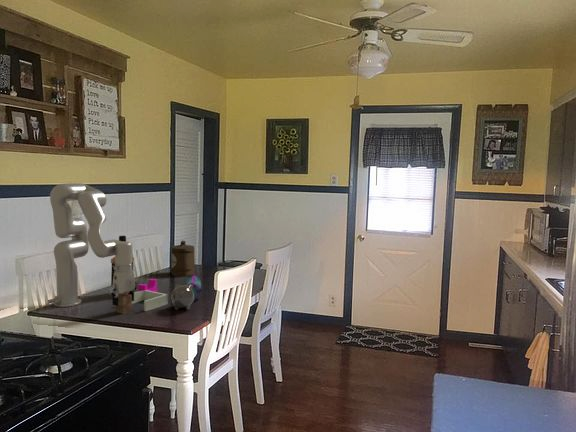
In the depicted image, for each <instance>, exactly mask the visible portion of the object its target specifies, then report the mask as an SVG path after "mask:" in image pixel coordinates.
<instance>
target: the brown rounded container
mask: <svg viewBox="0 0 576 432" xmlns="http://www.w3.org/2000/svg"><path fill="white" fill-rule="evenodd" d="M195 263H196V262H195V246H194V245H191V244H190V245H189V244H186V240H181V241H180V244H178V245H171V263H170V264H171V265H170V266H171V275H172V276H175V277H190V276H193V275H196V274H195V270H196V269H195ZM189 275H190V276H189Z"/></svg>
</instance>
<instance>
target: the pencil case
mask: <svg viewBox="0 0 576 432" xmlns="http://www.w3.org/2000/svg"><path fill="white" fill-rule="evenodd" d="M188 284H191V285H192V290H193V292H194V300H193V301H196V300H197V299H199V298H200V296H201V294H202V293H203V289H202V281H201V278H199V276H197V274H193V275H191V276H188V278H187V279H186V281H185V285H188Z"/></svg>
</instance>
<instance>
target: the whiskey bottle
mask: <svg viewBox="0 0 576 432" xmlns="http://www.w3.org/2000/svg"><path fill="white" fill-rule="evenodd" d="M118 240H119V241H122V242H123V241H125V242H127V235H119V236H118ZM134 262H135V257H133V256H132V270H133V271H134ZM110 264H111V271H110V273H111V276H110V277H111V280H110V281H111V283H110V287H111V286H112V285H113V276H114V271H115V270H114V267H115V256H114V257H112V258H111V259H110ZM124 293H125V294H128V293H129V291H128V292H124ZM124 293H119V295H120V294H124ZM115 294H116V293H115ZM109 296H110V297H111V295H110V294H109Z"/></svg>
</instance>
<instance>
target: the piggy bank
mask: <svg viewBox="0 0 576 432" xmlns="http://www.w3.org/2000/svg"><path fill="white" fill-rule="evenodd" d="M170 299H171V302H172V304H173V305H174V310H175V311H179V310H180V309H184V308H185V310H186V311H189V310H190V309H191V305H192V303H194V301H195V300H194V292H193V290H192V285H191V284H188V285H186V284H182V285H181V284H179V283H178V284H177V283H176V284H175V286H174V289H173V290H172V292H171V295H170Z"/></svg>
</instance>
